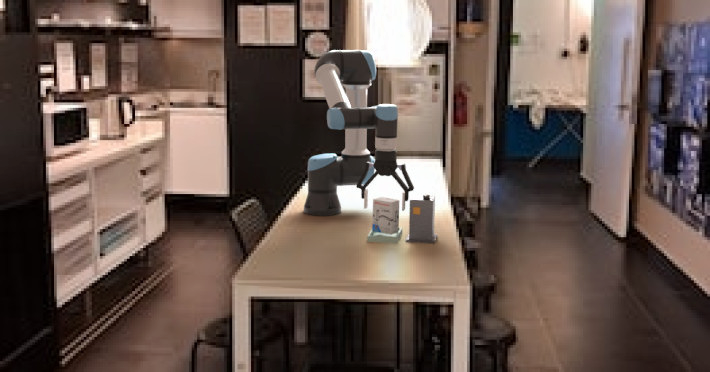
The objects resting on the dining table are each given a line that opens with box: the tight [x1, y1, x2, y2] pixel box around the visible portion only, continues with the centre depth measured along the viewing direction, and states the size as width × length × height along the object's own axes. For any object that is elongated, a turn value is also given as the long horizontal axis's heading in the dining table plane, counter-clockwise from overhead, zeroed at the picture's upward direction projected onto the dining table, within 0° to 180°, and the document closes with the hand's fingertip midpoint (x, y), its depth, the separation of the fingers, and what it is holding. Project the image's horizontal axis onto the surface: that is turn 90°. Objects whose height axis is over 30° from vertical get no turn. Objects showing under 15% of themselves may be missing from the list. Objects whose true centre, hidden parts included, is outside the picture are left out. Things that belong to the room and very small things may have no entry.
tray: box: [366, 227, 403, 244], centre depth 278 cm, size 10×14×2 cm
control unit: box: [405, 194, 438, 244], centre depth 274 cm, size 10×10×16 cm
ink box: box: [371, 196, 400, 235], centre depth 276 cm, size 9×5×12 cm, turn 52°
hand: (384, 208), depth 277 cm, fingers open, 13 cm apart
